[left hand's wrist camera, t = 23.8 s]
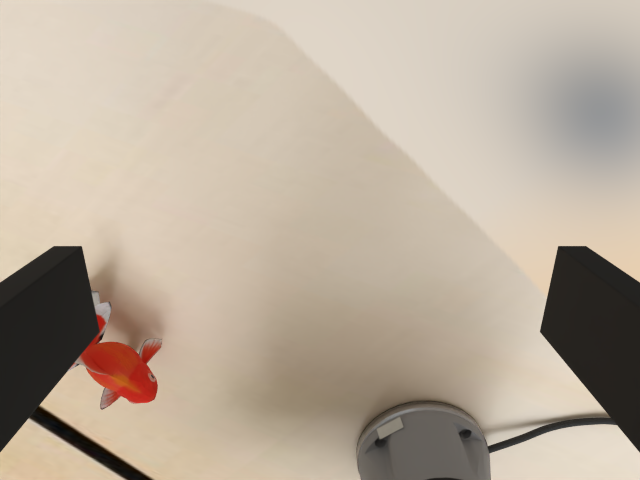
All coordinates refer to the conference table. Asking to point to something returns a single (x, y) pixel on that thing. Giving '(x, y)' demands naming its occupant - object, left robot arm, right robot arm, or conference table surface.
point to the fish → (119, 364)
